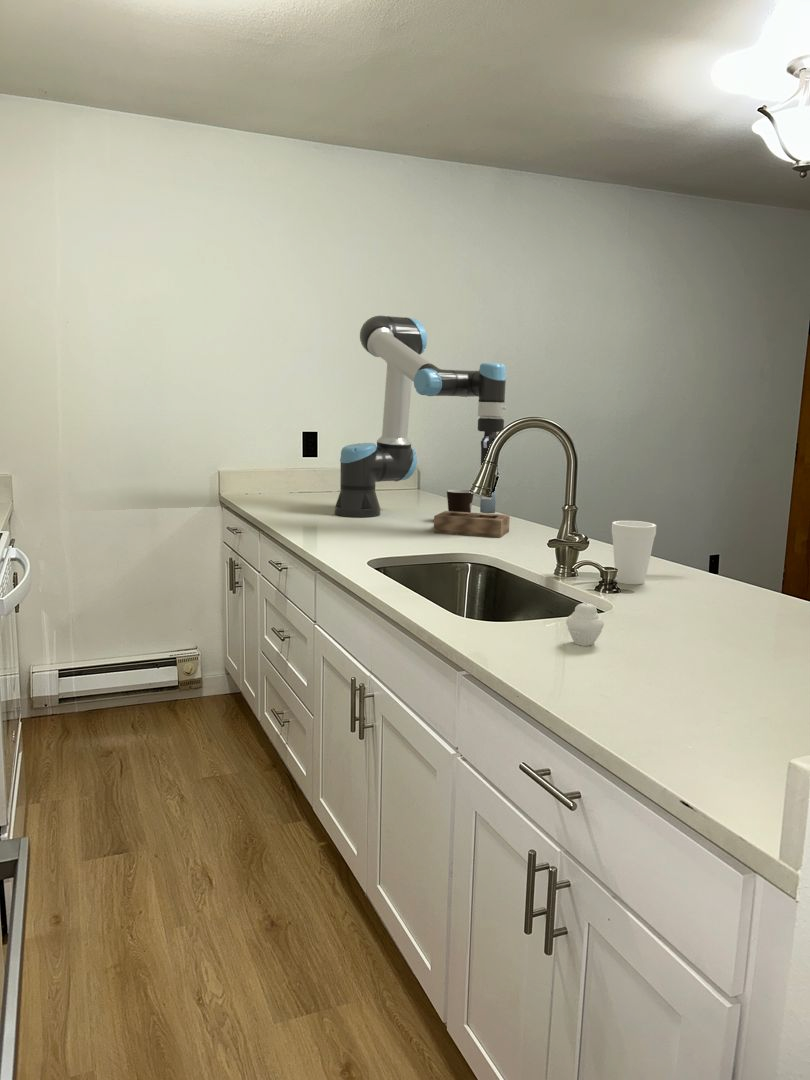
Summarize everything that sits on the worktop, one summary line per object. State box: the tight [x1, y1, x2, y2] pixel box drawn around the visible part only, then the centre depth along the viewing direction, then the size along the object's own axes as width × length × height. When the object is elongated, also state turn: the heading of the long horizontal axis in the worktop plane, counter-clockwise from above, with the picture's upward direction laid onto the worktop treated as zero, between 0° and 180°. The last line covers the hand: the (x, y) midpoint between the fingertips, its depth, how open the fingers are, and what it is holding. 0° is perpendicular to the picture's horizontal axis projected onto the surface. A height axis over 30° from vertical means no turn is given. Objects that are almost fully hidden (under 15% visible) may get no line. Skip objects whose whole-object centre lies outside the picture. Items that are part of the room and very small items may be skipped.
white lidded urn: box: [565, 602, 605, 647], centre depth 141 cm, size 6×6×7 cm
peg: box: [479, 471, 498, 514], centre depth 248 cm, size 4×4×15 cm
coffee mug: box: [446, 489, 474, 513], centre depth 271 cm, size 12×9×10 cm
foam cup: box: [611, 520, 657, 585], centre depth 189 cm, size 10×9×13 cm
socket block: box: [433, 510, 511, 539], centre depth 251 cm, size 20×12×5 cm, turn 72°
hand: (488, 497), depth 248 cm, fingers closed on peg, 4 cm apart
